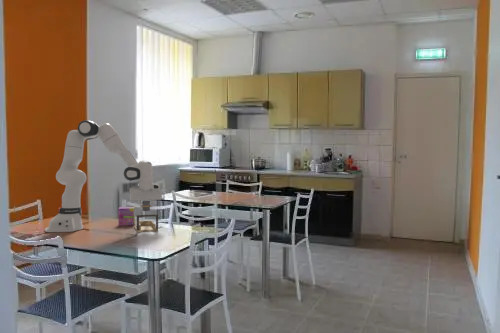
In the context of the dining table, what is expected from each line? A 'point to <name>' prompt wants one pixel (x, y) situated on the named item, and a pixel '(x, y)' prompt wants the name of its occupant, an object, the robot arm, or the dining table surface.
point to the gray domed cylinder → (146, 205)
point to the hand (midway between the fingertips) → (146, 207)
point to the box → (126, 215)
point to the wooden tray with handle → (146, 224)
